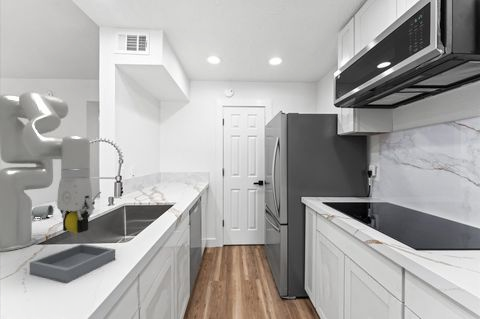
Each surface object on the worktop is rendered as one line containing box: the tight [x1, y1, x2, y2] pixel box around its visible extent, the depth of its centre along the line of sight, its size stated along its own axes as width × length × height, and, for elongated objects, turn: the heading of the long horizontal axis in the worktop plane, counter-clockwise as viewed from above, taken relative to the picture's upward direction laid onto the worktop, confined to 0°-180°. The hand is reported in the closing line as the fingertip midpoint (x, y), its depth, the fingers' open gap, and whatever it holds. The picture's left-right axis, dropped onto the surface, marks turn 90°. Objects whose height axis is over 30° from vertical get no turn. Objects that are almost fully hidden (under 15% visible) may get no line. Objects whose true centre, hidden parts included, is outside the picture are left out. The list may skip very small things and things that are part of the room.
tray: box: [29, 243, 116, 284], centre depth 73 cm, size 16×16×4 cm
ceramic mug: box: [32, 204, 54, 220], centre depth 133 cm, size 11×8×8 cm
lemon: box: [65, 211, 84, 235], centre depth 73 cm, size 6×6×8 cm
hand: (75, 230), depth 73 cm, fingers closed on lemon, 5 cm apart
